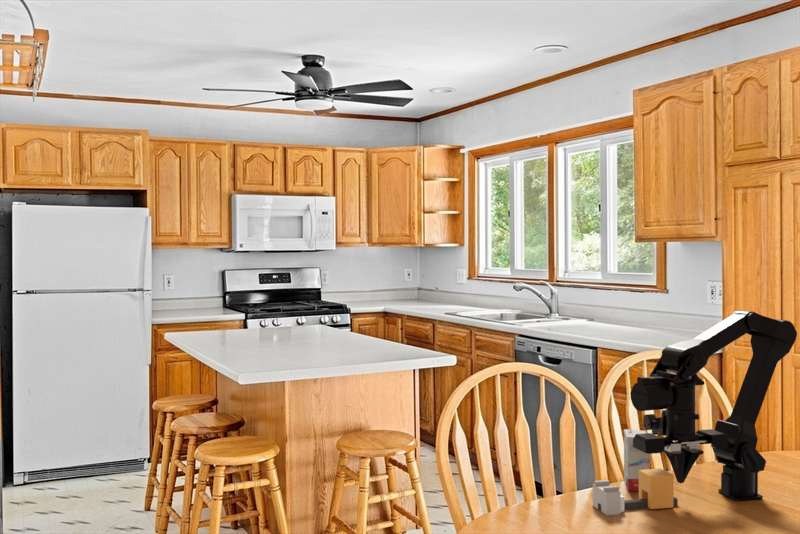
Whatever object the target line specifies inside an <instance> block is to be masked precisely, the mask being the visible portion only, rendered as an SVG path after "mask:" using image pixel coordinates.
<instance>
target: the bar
mask: <svg viewBox="0 0 800 534" xmlns="http://www.w3.org/2000/svg"><path fill="white" fill-rule="evenodd" d="M678 502H679V501H678V498H677V497H676V496H673V507H674V506H679V505H678ZM599 506H601V504H598V509H597V510H598V511H599V512H601V511H600V510H601V507H599ZM626 509H628V510H637V509H638V510H639V509H649V508H648V499H639V498H638V499H624V511H626Z"/></svg>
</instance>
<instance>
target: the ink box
mask: <svg viewBox="0 0 800 534" xmlns="http://www.w3.org/2000/svg"><path fill="white" fill-rule="evenodd" d="M645 433H647V430H642V429H641V430H640V429H627V428H626V429H625V428H624V429H623V481H624V483H625V486H626V490H627V492H639V470H645V469H651V467H650V465H651V464H650V463H651V462H650V461H651V460H650V459H651V457H650V455H651V454H648V453H644V452H642V451H640V450H638V449H636V448H634V447H633V438H634V437H635V435H636V434H645Z"/></svg>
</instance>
